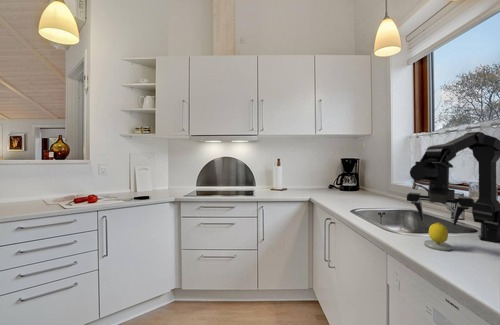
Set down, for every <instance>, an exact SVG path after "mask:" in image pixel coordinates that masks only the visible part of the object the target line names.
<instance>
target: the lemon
mask: <svg viewBox="0 0 500 325" xmlns="http://www.w3.org/2000/svg"><path fill="white" fill-rule="evenodd" d="M428 236H429V238H430V240H433V241H435V242H436V243H437V244H440V243H443V242H444V243H446V241H447V240H448V237H449V231H448V229H447V227H446V226H445V225H444V224H442V223H440V222H439V221H438V222H435V223H432V224H431V225H430V226H429V229H428Z"/></svg>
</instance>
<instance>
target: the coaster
mask: <svg viewBox="0 0 500 325" xmlns="http://www.w3.org/2000/svg"><path fill="white" fill-rule="evenodd" d="M423 246H424V247H426V246H427V248H428V249H432V250H436V251H440V252H441V251H442V252H452V251H453V246H452V245H451V244H449V243H447V242H443V243H440V244H437V243H436V242H435V241H433V240H432V239H430V240H429V239H427V240H424V242H423Z"/></svg>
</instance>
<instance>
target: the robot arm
mask: <svg viewBox="0 0 500 325" xmlns="http://www.w3.org/2000/svg"><path fill="white" fill-rule="evenodd" d="M467 148H468V149H469V150H471V151H472V152H471V153H472V156H473V157H474V159H475V160H476V161H477V162H478V163H477V164H478V198H477V200H476V201H475V200H474V198H472V197H471V196H461V195H460V196H459V195H458V196H457V197H455V193H456V192H455V189H451V188H450V169H451V168H452V169H453V168H454V165H453V164H452V163H450V161H452V160H453V159H454V158H456V156H457V153H459V152H460V151H464V150H466V149H467ZM499 160H500V139H499V138H497V137H496V136H495V137H494V136H491V135H488V134H485V133H484V132H483V131H469V132H466V133H464V134H463V135H461V136H459V137H455V138H454V139H453V140H450V141H448V142H446V143H441V144H435V145H430V146H428V147H427V148H426V151H425V152H424V154H423V155H422V156H421V159H420V160H419V161H415V163H414V165H413V166H412V167H411V168H410V170H409V175H410V178H411V179H413V180H414V181H419V182H421V181H428V190H427V195H423V194H422V195H421V192H408V193H407V194H406V202H410V203H411V204H413V205H414V206H415V207H416V209H417V211H418V214H419V217H420V220H421V221H424V212H423V211H424V210H423V204H422V202H423V201H427V202H429V203H432V204H433V203H439V204H442V205H443V204H444V205H446V204H447V203H449V204H455V205H456V206H455V211H454V212H455V213H454V218H453V226H456V225H457V222H458V221H459V218H460V216H461V215H462V213H463V212H464V210H469V209H470V208H472V209H471V213H472V218H473V222H474V223H479V224H480V234H478V238H479V240H480V241H487V242H493V243H498V244H500V202H499V200H498V198H497V162H498V161H499Z"/></svg>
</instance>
